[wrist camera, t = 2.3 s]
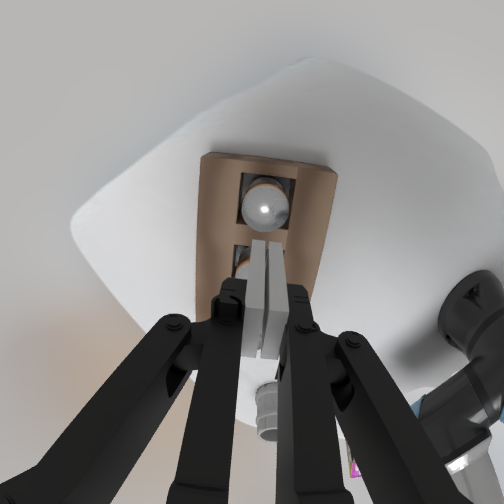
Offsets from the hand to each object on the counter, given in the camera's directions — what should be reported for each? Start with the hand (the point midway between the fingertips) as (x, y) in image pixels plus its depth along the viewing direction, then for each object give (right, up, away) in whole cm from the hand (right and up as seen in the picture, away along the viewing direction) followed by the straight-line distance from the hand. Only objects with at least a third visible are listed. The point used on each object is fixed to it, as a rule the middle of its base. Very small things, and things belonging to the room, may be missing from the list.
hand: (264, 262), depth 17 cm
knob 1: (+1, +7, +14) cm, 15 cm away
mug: (+6, -27, +33) cm, 43 cm away
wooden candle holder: (0, +1, +20) cm, 20 cm away
